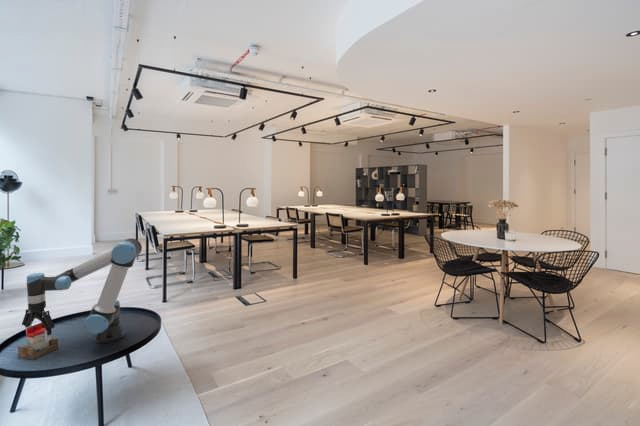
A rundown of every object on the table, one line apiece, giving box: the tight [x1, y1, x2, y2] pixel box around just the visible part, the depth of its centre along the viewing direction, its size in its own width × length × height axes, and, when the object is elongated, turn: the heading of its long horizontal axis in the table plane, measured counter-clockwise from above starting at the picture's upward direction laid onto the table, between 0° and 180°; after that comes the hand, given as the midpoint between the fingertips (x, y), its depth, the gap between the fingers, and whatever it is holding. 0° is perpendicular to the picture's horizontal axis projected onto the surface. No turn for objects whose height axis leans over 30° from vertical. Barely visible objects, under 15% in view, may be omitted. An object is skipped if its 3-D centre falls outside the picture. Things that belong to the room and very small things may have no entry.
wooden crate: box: [17, 336, 59, 361], centre depth 187 cm, size 10×13×6 cm
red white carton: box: [25, 322, 49, 353], centre depth 186 cm, size 8×5×15 cm, turn 166°
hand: (38, 339), depth 187 cm, fingers open, 13 cm apart
